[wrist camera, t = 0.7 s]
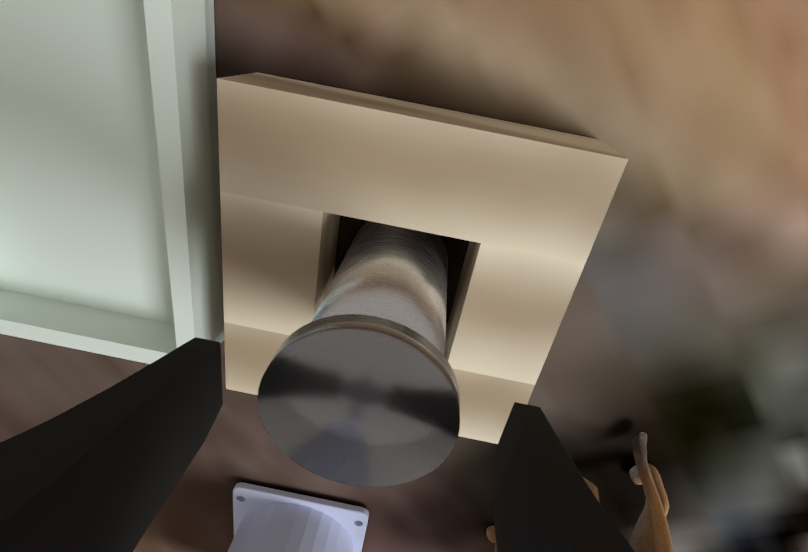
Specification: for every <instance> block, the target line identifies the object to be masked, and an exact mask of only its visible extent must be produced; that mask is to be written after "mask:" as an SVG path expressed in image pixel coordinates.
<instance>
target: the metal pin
mask: <svg viewBox="0 0 808 552" xmlns="http://www.w3.org/2000/svg"><path fill="white" fill-rule="evenodd" d="M447 273H448V253H447V248H446V244H445V242H444V240H443V238H442V236H441V235H437V234H432V233H427V232H422V231H417V230H412V229H407V228H402V227H397V226H392V225H387V224H382V223H377V222H372V221H368V222H367V223H365V224H364V225H363V226H362V227H361V228H360V230H359V231H358V232H357V234H356V236H355V238H354V240H353V242H352V244H351V246H350V248H349V249H348V251H347V253H346V255H345V257H344V259H343V261H342V263H341V265H340V267H339V269H338V271H337V273H336V274H335V276H334V278H333V280H332V282H331V284H330V286H329V288H328V290H327V292H326V294H325V296H324V298H323V300H322V301H321V303H320V305H319V307H318V309H317V311H316V313H315V315H314V317H313V319H312V321H311V322H310V323H308V324H306V325H304V326H302V327H300V328H299V329H298V330H296V331H295V332H293V333H292V334H291V335H290V336H289V337H288V338H287V339H286V340H285V341H284V342H283V343H282V345H281V346H280V347H279V349H278V350H277V352H276V354H275V355H274V357H273V359H272V361H271V362H270V364H269V366H268V367H267V369H266V371H265V373H264V375H263V377H262V379H261V382H260V385H259V389H258V409H259V414H260V418H261V420H262V423H263V425H264V428H265V429H266V431H267V433H268V434H269V436H270V438H271V439H272V440H273V442H274V443H275V444H276V445H277V446H278V447H279V448H280V450H281V451H282V452H283V453H284V454H286V455H287V456H288V457H289V458H290V459H292V460H293V461H294V462H296V463H297V464H299V465H300V466H302V467H303V468H305V469H307V470H309V471H311V472H312V473H315V474H317V475H319V476H321V477H324V478H327V479H330V480H332V481H336V482H340V483H344V484H348V485H355V486H364V487H385V486H394V485H398V484H403V483H407V482H410V481H413V480H416V479H418V478H420V477H422V476H425V475H426V474H428V473H430V472H431V471H433V470H434V469H436V468H437V467H438V466H439V465H440V464H442V463H443V461H444V460H445V459H446V458H447V457H448V456H449V454H450V453H451V451H452V450H453V448H454V446H455V444H456V441H457V439H458V434H459V430H460V394H459V386H458V382H457V379H456V376H455V374H454V372H453V369H452V367H451V365H450V364H449V362H448V361H447V360H446V358H445V332H446V303H447Z"/></svg>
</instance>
